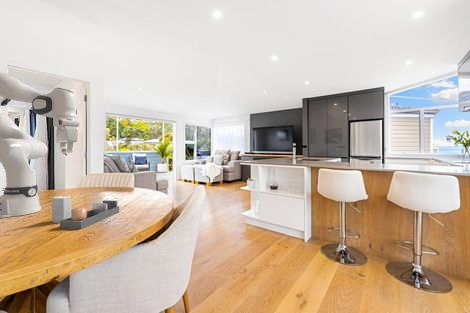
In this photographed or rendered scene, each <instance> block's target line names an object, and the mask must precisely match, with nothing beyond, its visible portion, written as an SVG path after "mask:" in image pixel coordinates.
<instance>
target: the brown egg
mask: <svg viewBox="0 0 470 313" xmlns="http://www.w3.org/2000/svg"><path fill="white" fill-rule="evenodd" d="M86 212H87V207H85V206H82V207H81V206H80V207H75V208H71V221H82V220H85V219H86Z"/></svg>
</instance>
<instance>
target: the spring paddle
mask: <svg viewBox="0 0 470 313" xmlns="http://www.w3.org/2000/svg"><path fill="white" fill-rule="evenodd" d="M92 209H93V216H95V215H97V214H100V213H102V212H105V211H107V203H103V202H94V203H92Z"/></svg>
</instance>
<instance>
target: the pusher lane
mask: <svg viewBox="0 0 470 313" xmlns="http://www.w3.org/2000/svg"><path fill="white" fill-rule="evenodd" d="M102 203H107V211H105V212H102V213H100V214H97V215H95V216H93V208H92V209H90V210H86V219H85V220H82V221H71V217H70V218H67V219H64V220H61V221H60V223H59V229H65V230H66V229H71V230H72V229H73V230H83V229H86V228H88V227H90V226H92V225H95V224H96V223H99V222H102V221H103V220H104V221H105V219H109V218H110V217H112V216H115V215H116V214H119V213H120V206H118V200H105V199H103V200H102Z"/></svg>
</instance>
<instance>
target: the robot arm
mask: <svg viewBox="0 0 470 313" xmlns="http://www.w3.org/2000/svg"><path fill="white" fill-rule="evenodd" d="M11 101H16V102H21V103H27V104H28V103H29V104H31V108H32V110H33V112H34V113H35V114H36V115H38V116H42V117H47V118H52V119H53V120H52V122H53V123H52V124H53V127H54V128H55V142H56V144H59V148H60V153H65V154H66V153H68V154H69V153H73V147H74V143H77V142H78V140H79V139H78V138H79V127H80V121H79V120H78V116H77V114H78V102H77V97H76V94H75V92H73V91H72V90H69V89H66V88H61V87H54V88H53V89H52V90H51V92H48V93H43V92H41V91H39V90H37V89H36V88H34V87H32V86H30V85H28V84H27V83H24V81H21V80H19V79H18V78H15V76H12V75H10V74H8V73H5V72H3V71H0V164H1V165H2V167H3V169H4V170H5V171H4V172H5V180H6V181H5V182H6V187H4V188H2V190H1V191H2V192H3V194H2V195H1V196H0V219H5V218H11V217H17V216H26V215H31V214H34V213H37V212H40V211H41V210H42V206H41V204H40V196H39V194H38V190H39V186H38V184H37V170H36V169H35V168H33V167H32V166H31V165H30V164H29V160H36V159H40V158H43V157H45V156H46V155H47V154H48V151H49V149H48V146H47V144H46V143H44V141H41V140H38V139H37V138H35V137H33V136H32V135H31V134H29V133H28V132H26V131H24V130H23V129H21V128H20V127H19V126H17V124H16V123H15V122H14V121H13V120H12V119H11V118H10V117H9V116H8V114H6V113H5V111H4V110H3V109H2V107H5V106H7V105H8V104H9V103H10V102H11ZM1 106H2V107H1Z"/></svg>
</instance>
